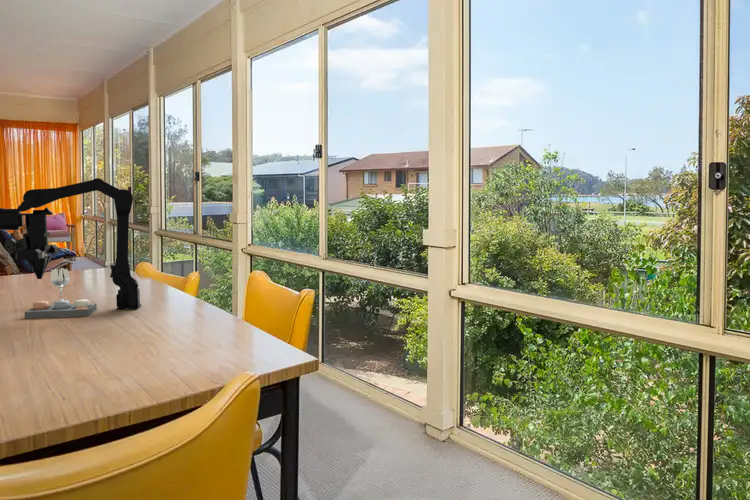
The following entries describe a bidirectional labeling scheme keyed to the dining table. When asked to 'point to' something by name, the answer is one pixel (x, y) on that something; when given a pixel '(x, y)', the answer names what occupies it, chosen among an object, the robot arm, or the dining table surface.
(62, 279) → the wineglass
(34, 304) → the terracotta button
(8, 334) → the dining table surface
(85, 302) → the cream button
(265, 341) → the dining table surface
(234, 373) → the dining table surface
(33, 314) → the button panel
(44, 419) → the dining table surface
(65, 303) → the slate button
